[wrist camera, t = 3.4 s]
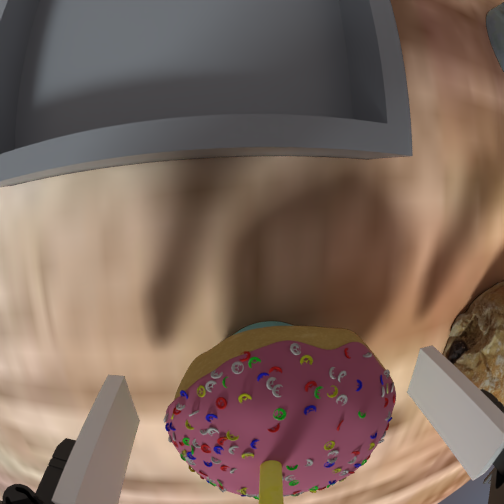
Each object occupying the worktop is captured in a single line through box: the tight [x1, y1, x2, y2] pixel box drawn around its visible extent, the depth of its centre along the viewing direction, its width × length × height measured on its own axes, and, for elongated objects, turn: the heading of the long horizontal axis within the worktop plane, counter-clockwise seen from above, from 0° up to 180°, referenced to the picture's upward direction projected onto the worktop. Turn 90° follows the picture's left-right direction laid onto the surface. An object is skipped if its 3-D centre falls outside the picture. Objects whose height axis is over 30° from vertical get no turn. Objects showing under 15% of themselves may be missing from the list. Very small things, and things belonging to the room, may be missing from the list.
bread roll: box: [443, 281, 504, 405], centre depth 14 cm, size 10×10×8 cm
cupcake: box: [164, 321, 396, 504], centre depth 8 cm, size 9×8×12 cm
